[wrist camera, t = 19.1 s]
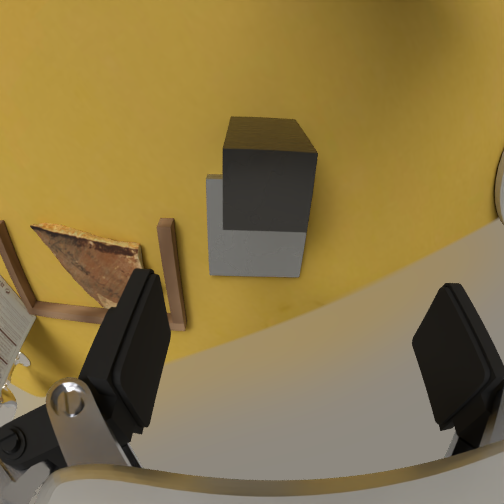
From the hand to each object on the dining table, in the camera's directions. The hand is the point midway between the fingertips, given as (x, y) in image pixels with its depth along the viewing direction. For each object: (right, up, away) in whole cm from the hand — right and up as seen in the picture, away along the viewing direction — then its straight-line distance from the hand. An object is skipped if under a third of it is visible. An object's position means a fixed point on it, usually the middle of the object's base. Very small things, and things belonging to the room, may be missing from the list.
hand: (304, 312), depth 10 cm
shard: (-15, +1, +16) cm, 22 cm away
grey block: (-1, +5, +12) cm, 13 cm away
